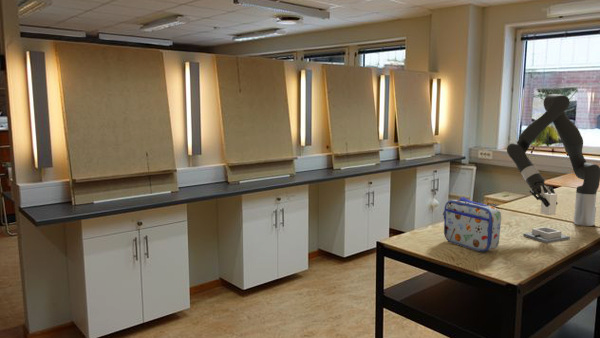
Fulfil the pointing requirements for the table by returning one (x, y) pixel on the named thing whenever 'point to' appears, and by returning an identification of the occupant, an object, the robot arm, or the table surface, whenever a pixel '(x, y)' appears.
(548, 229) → the charging dock
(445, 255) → the table surface
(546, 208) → the block
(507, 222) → the table surface
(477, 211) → the lunch box
